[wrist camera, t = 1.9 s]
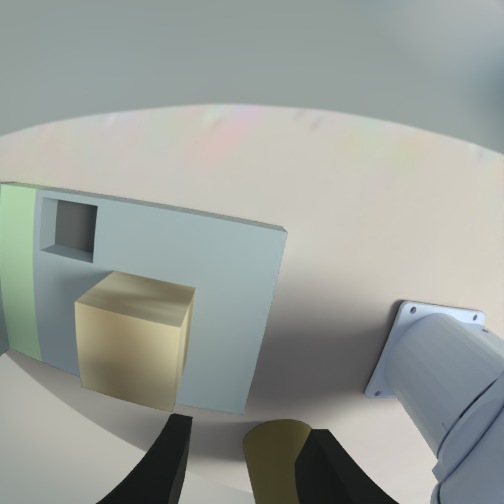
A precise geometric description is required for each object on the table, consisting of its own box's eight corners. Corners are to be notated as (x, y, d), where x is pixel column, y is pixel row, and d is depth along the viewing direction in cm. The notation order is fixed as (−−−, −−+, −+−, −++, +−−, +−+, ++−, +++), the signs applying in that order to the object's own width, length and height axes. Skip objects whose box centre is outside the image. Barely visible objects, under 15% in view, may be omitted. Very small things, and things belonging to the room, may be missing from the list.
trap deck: (282, 226, 17) (296, 242, 13) (242, 395, 19) (243, 441, 15) (10, 181, 15) (-33, 185, 11) (14, 332, 18) (-17, 358, 14)
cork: (274, 470, 22) (287, 570, 11) (227, 443, 21) (224, 559, 10) (329, 439, 21) (363, 544, 10) (285, 408, 20) (311, 536, 9)
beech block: (196, 287, 15) (180, 327, 11) (186, 360, 16) (172, 412, 12) (114, 270, 15) (74, 301, 11) (112, 342, 16) (81, 386, 12)
